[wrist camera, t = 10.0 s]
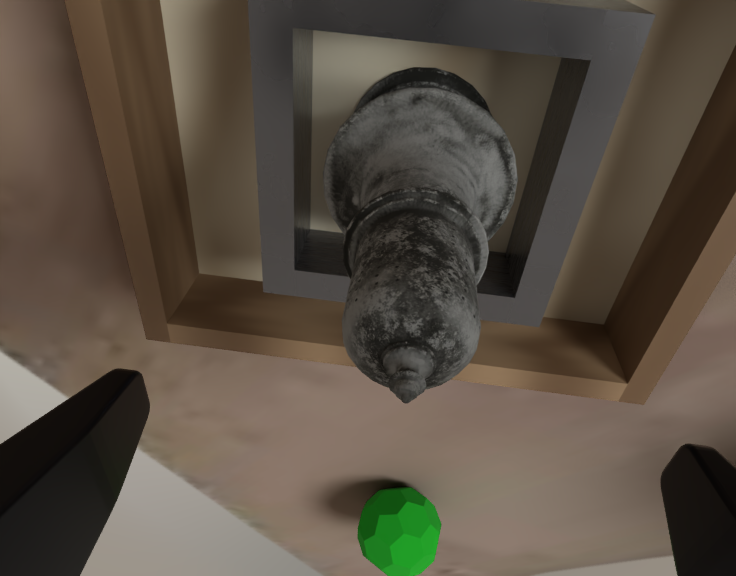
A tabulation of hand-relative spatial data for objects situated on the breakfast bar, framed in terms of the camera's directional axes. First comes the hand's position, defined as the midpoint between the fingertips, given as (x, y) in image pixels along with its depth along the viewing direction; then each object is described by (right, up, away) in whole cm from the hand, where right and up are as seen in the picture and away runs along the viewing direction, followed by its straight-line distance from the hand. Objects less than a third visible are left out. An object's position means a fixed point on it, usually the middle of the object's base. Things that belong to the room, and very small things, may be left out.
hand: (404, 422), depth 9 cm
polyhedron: (+2, -11, +24) cm, 27 cm away
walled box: (+1, +8, +10) cm, 13 cm away
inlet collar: (+1, +8, +10) cm, 13 cm away
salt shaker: (+1, +8, +10) cm, 13 cm away
